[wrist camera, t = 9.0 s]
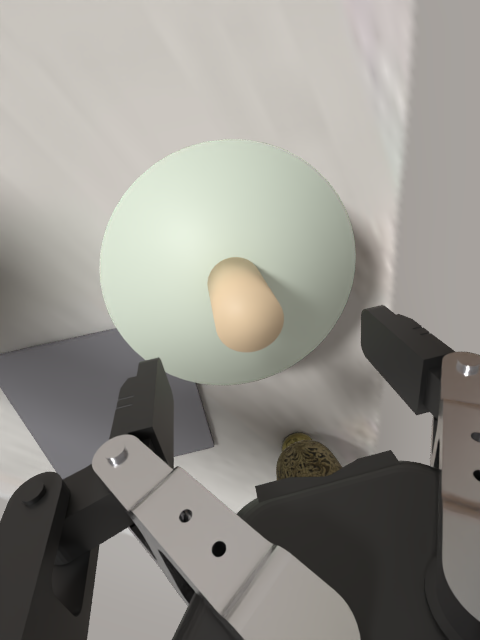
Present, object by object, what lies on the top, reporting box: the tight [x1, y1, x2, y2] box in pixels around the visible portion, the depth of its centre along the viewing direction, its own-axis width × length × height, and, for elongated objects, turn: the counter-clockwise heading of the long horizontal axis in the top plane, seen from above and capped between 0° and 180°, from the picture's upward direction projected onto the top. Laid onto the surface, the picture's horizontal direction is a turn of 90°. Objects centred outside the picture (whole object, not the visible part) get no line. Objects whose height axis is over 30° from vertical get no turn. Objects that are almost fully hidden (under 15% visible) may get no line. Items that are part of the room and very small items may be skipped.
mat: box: [0, 328, 214, 479], centre depth 32 cm, size 16×16×1 cm
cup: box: [276, 433, 342, 480], centre depth 35 cm, size 8×7×8 cm
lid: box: [100, 139, 356, 385], centre depth 18 cm, size 15×15×6 cm
